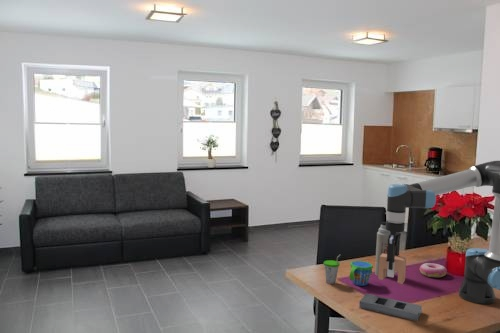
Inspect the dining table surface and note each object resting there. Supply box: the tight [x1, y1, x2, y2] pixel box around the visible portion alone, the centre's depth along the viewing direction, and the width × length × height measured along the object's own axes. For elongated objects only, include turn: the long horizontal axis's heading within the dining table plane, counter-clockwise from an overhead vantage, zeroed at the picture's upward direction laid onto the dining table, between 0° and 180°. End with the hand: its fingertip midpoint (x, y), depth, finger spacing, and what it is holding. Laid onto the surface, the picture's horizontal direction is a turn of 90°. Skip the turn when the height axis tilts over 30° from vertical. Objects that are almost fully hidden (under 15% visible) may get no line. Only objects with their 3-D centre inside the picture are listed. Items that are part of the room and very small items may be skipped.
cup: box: [323, 254, 342, 285], centre depth 223 cm, size 8×8×15 cm
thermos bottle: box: [374, 221, 391, 278], centre depth 236 cm, size 8×8×28 cm
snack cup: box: [348, 260, 373, 287], centre depth 223 cm, size 16×10×10 cm
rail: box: [358, 293, 423, 322], centre depth 193 cm, size 24×10×3 cm, turn 60°
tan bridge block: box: [377, 254, 407, 285], centre depth 191 cm, size 10×5×10 cm, turn 60°
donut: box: [419, 262, 448, 279], centre depth 239 cm, size 14×13×5 cm
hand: (391, 274), depth 191 cm, fingers closed on tan bridge block, 5 cm apart
